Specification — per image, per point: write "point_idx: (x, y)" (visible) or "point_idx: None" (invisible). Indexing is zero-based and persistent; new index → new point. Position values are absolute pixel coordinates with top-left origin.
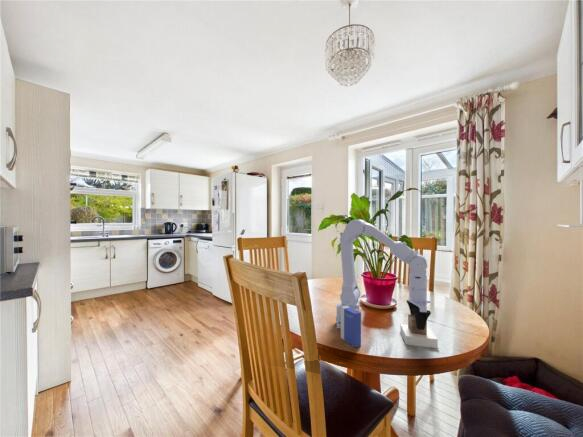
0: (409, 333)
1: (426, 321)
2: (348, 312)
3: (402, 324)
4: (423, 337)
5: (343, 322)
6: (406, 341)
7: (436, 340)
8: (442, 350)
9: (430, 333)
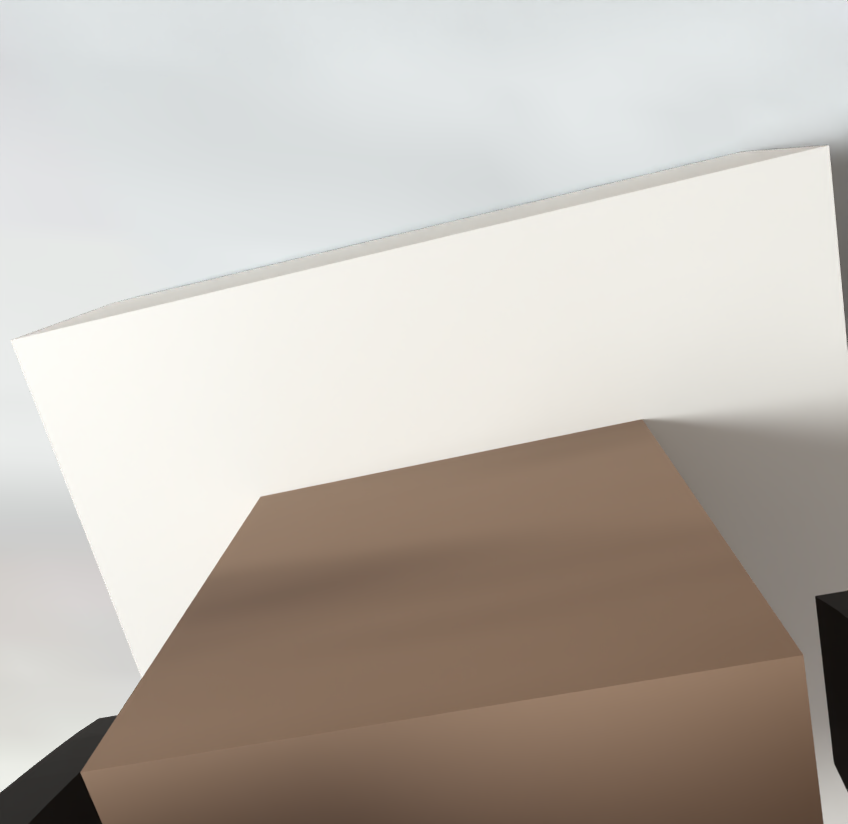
0: None
1: (789, 647)
2: None
3: None
4: (838, 503)
5: None
6: None
7: (815, 177)
8: (818, 52)
9: (480, 316)
